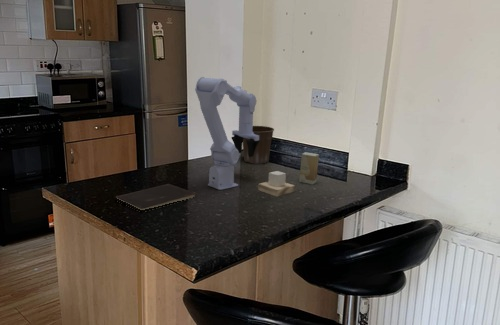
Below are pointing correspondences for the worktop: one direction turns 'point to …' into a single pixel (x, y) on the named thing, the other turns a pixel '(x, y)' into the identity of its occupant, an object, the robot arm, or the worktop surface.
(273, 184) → the cream cube
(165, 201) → the hardcover book
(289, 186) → the oak plinth
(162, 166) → the worktop surface
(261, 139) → the plant pot
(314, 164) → the skincare box
